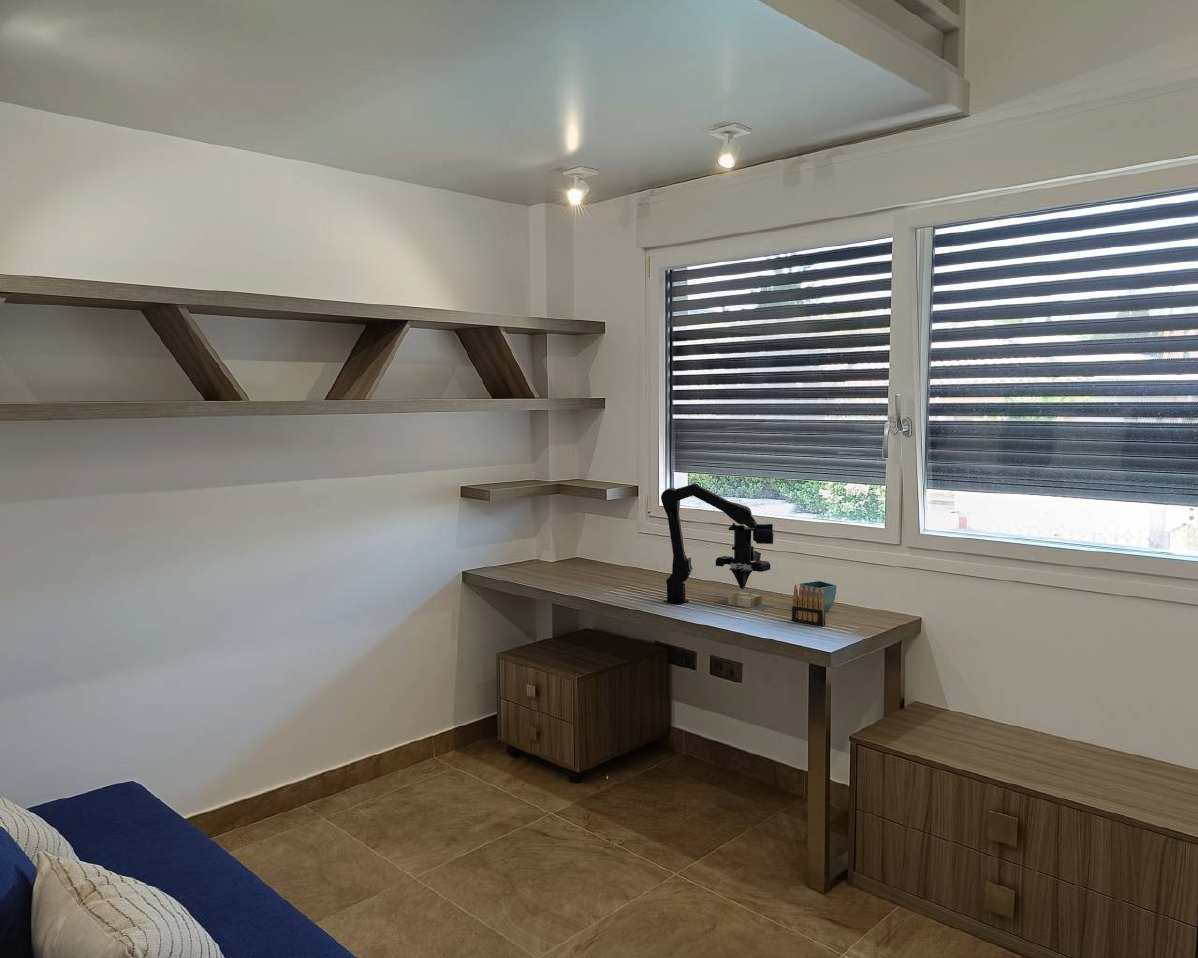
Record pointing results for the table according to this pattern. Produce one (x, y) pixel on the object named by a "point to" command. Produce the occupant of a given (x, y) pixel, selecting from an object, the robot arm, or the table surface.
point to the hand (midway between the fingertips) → (742, 588)
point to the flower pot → (827, 589)
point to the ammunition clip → (808, 607)
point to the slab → (745, 599)
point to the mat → (759, 607)
